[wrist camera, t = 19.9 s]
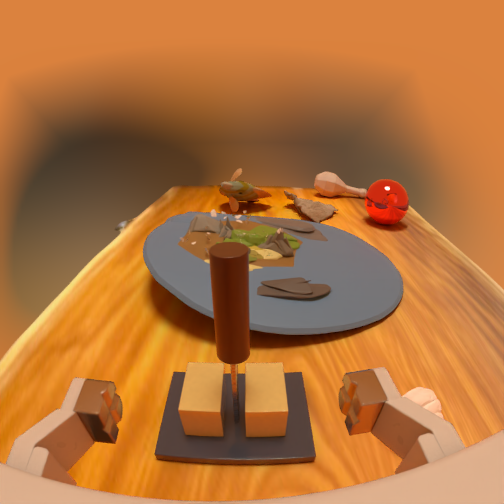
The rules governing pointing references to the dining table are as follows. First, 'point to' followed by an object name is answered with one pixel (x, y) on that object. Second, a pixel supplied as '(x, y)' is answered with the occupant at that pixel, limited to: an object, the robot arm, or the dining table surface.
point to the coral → (312, 208)
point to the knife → (231, 307)
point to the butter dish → (222, 417)
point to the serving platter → (279, 271)
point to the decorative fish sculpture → (241, 191)
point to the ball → (386, 201)
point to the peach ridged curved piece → (425, 399)
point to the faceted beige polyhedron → (334, 186)
